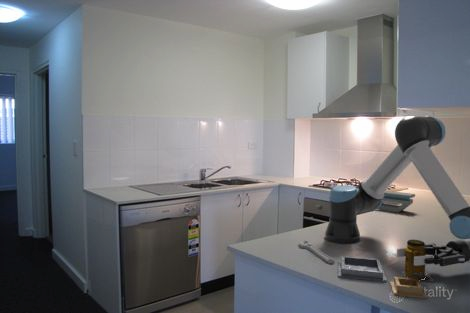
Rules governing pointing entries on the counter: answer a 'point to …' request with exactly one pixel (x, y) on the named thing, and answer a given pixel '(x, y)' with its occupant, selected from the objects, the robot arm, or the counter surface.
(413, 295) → the small brown compartment box
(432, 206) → the counter surface
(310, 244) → the adjustable wrench
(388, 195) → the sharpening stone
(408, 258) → the condiment
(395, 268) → the counter surface
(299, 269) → the counter surface
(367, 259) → the large collar
